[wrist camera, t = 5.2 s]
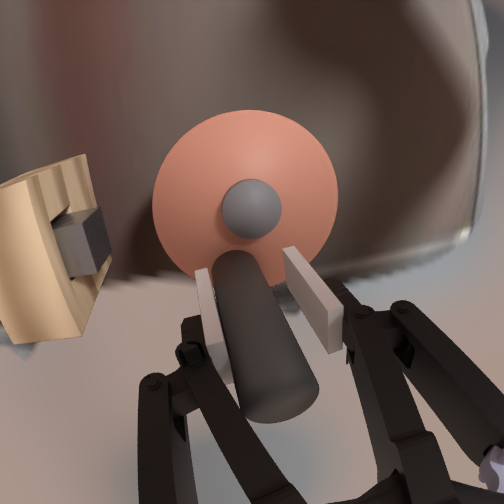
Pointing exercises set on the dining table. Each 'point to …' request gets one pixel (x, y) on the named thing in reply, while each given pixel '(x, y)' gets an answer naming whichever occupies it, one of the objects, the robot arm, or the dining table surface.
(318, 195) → the handwheel
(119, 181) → the dining table surface
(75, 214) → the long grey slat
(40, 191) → the eye block
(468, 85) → the dining table surface
